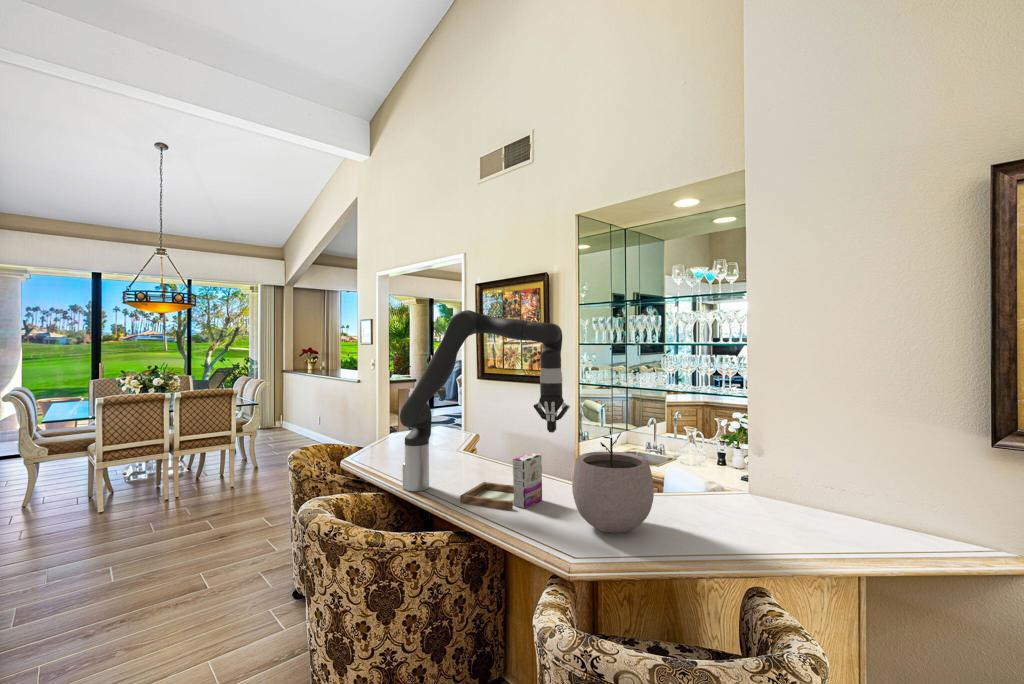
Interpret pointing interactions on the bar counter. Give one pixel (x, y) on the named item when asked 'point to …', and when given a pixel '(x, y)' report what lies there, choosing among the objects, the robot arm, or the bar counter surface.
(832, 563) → the bar counter surface
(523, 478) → the candy bar box
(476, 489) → the keeper frame
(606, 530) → the plant pot
